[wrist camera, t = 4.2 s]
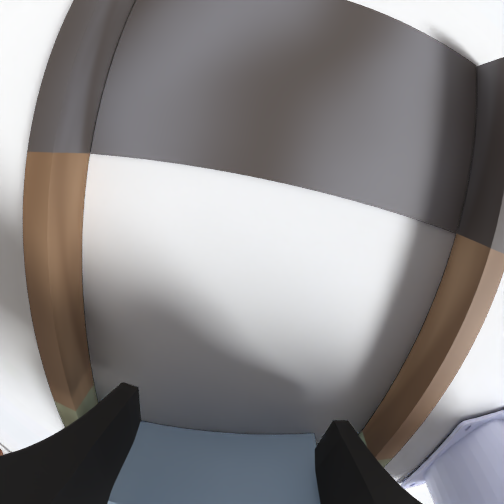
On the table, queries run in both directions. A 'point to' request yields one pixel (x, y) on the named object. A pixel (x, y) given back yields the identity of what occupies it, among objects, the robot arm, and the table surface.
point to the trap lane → (271, 153)
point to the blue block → (216, 468)
